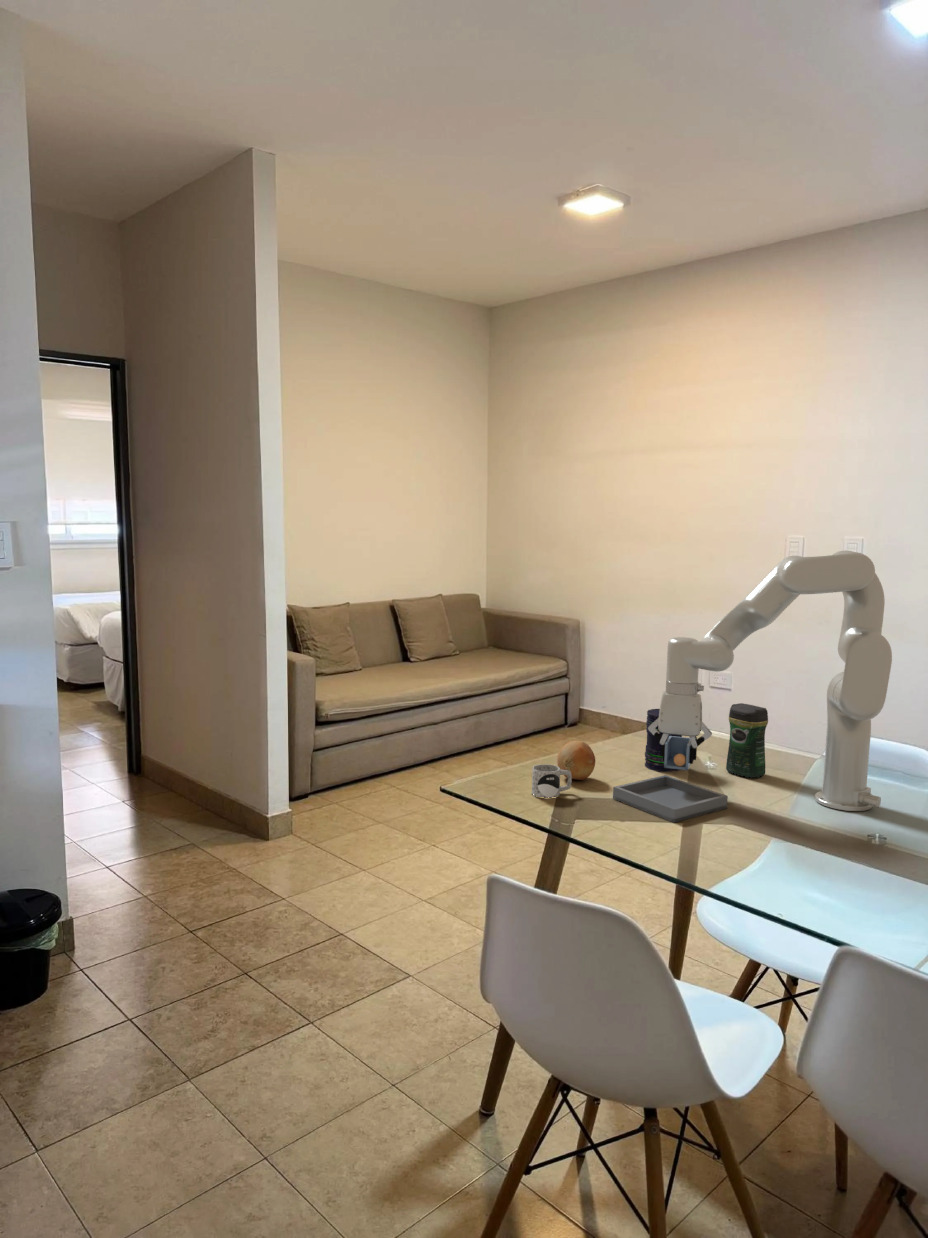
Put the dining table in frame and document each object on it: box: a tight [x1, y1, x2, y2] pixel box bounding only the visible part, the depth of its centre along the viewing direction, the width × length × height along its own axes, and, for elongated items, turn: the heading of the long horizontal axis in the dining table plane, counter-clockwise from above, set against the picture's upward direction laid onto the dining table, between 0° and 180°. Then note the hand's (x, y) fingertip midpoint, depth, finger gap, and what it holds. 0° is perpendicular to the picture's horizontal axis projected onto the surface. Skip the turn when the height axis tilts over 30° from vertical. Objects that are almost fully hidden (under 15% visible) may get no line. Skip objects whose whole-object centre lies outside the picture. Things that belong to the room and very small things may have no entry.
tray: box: [612, 774, 729, 824], centre depth 205 cm, size 19×18×3 cm
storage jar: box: [644, 708, 683, 773], centre depth 234 cm, size 10×10×15 cm
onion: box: [556, 739, 596, 781], centre depth 222 cm, size 10×10×10 cm
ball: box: [674, 754, 686, 766], centre depth 210 cm, size 3×3×3 cm
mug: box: [531, 763, 573, 798], centre depth 210 cm, size 10×7×7 cm, turn 106°
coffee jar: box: [725, 702, 769, 778], centre depth 229 cm, size 10×8×19 cm
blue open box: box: [664, 736, 692, 771], centre depth 213 cm, size 8×6×6 cm
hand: (678, 760), depth 213 cm, fingers closed on blue open box, 5 cm apart
